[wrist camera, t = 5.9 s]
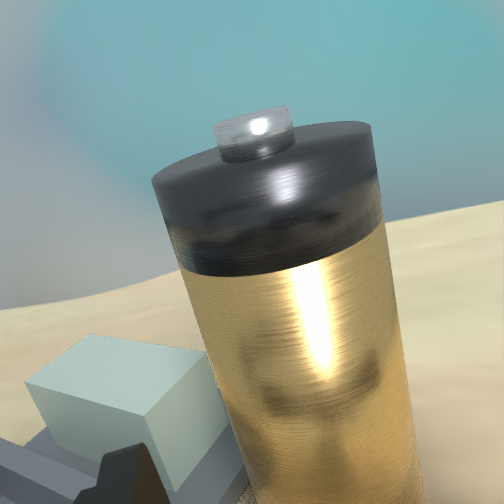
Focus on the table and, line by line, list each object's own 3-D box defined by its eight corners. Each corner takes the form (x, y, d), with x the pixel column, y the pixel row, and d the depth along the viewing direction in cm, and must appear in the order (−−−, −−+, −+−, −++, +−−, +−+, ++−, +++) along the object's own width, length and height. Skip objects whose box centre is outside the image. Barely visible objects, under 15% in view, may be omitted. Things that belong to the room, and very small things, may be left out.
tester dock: (-121, 1062, 9) (-288, 974, 7) (-257, 717, 16) (-362, 626, 14) (289, 418, 23) (266, 331, 21) (122, 379, 29) (94, 311, 27)
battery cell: (410, 671, 13) (303, 125, 7) (252, 592, 16) (91, 160, 10) (447, 509, 17) (394, 76, 11) (314, 470, 19) (222, 111, 14)
